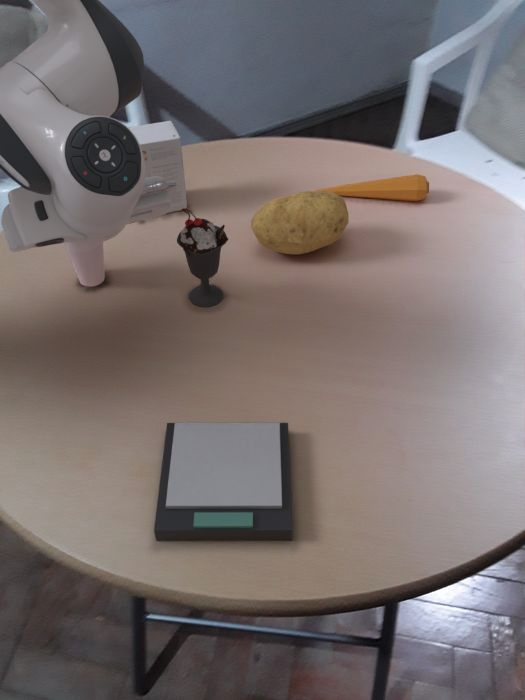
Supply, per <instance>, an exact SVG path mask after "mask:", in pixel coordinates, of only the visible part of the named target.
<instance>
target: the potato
mask: <svg viewBox="0 0 525 700" xmlns="http://www.w3.org/2000/svg"><path fill="white" fill-rule="evenodd" d="M250 222H251V224H250V230H252V232H253V234H254V236H255V238H256V239H257V241H258V243H259V244H260V245H262V246H263V247H264V248H266V249H269V250H272V251H274V252H275V253H276V252H277V253H280V254H285V255H294V256H295V255H297V256H299V255H303V254H307V253H311V252H312V253H313V252H314V251H316V250H319V249H321V248H325V247H326V246H330V245H332V244H334V243H335V242H336V241H338V240H340V239H341V237H342V235H343V233H344V231H345V229H346V227H348V224H349V211H348V207H347V203H346V201H345V199H344V196H340V195H337V194H335V193H333V192H332V191H316V190H309V191H300V192H296V193H294V194H293V193H292V194H289V195H284V196H281V197H277V198H273V199H271V200H269V201H268V202H266V203H264V204H263V205H262V206H260V207H259V208H258V210H257V211H256V213H255V214H254V216H253V217H252V219H251V221H250Z"/></svg>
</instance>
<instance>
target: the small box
mask: <svg viewBox="0 0 525 700" xmlns="http://www.w3.org/2000/svg"><path fill="white" fill-rule="evenodd" d="M127 127H128V128H129V129H130V130H131V131H132V132H133V134H134V135H135V136H136V138H137V140H138V142H139V144H140V146H141V148H142V151H143V155H144V159H145V166H146V177H145V178H147V177H152V176H161V177H162V178H163V179H164V181H166V182H171V181H175V183H176V184H177V189H176V190H175V192H173V193H172V194H170V195H169V197H170V200H171V207H170V210H169V212H168V213H172V212H173V213H175V212H179V211H182V208H184V209H185V208H187V209H188V202H187V190H186V188H187V187H186V178H185V169H184V168H185V167H184V159H183V148H182V138H181V136H180V134H179V133H178V131H177V128H176V127H175V126H174V123H173V122H172V120H167V121H161V122H154V123H147V124H142V125H141V124H140V125H134V126H127Z"/></svg>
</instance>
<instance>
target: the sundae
mask: <svg viewBox="0 0 525 700" xmlns="http://www.w3.org/2000/svg"><path fill="white" fill-rule="evenodd" d="M181 211H182V212H185V213H187V215H188V219H185V221H184V225H185V226H184V227H183V228H182V229H181V231H180V232H179V233H178V235H177V238H176V243H177V244H178V246H179V247H180V248H182V250H183V251H184V255H185V258H186V263H187V267H188V269H189V272H190V273H191V275H192V276H194V277H195V278H196V279H199V280H200V284H198V285H197V286H195V287H193V288H192V289H191V290H190V291H189V293H188V299H189V301H190V303H192V304H193V305H195V306H198V307H202V308H209V307H213V306H216V305H217V304H219V303H220V302H221V301H223V298H224V292H223V290H222V289H221V288H220V287H218V286H216V285H214V284H211V283H210V279H211V278H213V277H214V276H215V275H216V274H217V273H218V272H219V267H220V260H221V251H222V247H223V246H224V245H226V244H227V242H228V241H229V238H228V236H227V233H226V232H225V230H224V229H225V227H226V226H225V224H222V225H221V227H220V226H218V225H214V222H212V221H210V220H209V219H206V218H200V217H196V216H195V215H194V213H193V212H192V211H190V210H188V207H187V208H185V209H184V208H182V210H181ZM190 214H191V215H192V216H193V218H194V220H193V219H191V215H190Z"/></svg>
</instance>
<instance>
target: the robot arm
mask: <svg viewBox="0 0 525 700" xmlns="http://www.w3.org/2000/svg"><path fill="white" fill-rule="evenodd" d="M31 1H32V2H33V3H34V5H35V6H36V7H37V8H38V9H39V10H40V11H41V12H42V13H43V14H44V15H45V16H46V17H45V18H46V19H47V22H48V27H47V30H46V31H45V32H44V33H43V34H42V35H41V36H40V37H38V38H37V39H36V40H34V42H33V43H31V44H30V45H29V46H27V47H26V48H25V49H24V50H22V52H20V53H19V54H18V55H16V56H15V57H14V58H13V59H12V60H11V61H8V62H6V63H5V64H4V65H3V66H1V67H0V170H1V171H2V172H4V174H6V175H7V176H8V177H9V178H10V179H11V180H12V181H14V183H16V184H17V185H19V187H16V188H13V189H11V190H9V191H8V192H7V200H8V204H7V205H5V206H4V208H3V210H2V213H1V221H0V222H1V227H2V231H3V234H4V237H5V240H6V243H7V246H8V248H9V250H10V252H11V253H18V252H19V253H20V252H23V251H26V250H30V249H35V248H42V247H47V246H52V245H60V244H64V243H67V242H85V241H86V242H103V243H104V242H106V241H110V240H111V239H113V238H115V237H117V236H118V235H119V234H120V233H121V232H122V231H123V230H124V229H125V227H126V226H127V225H129V224H134V223H138V222H141V221H145V220H151V219H153V218H158V217H160V216H165V215H166V214H167V213H168V214H169V213H170V212H169V210H170V207H171V200H170V197H169V195H170V194H172V193H173V192H175V190H176V189H177V184H176V183H175V181H171V182H166V181H164V179H163V178H162V177H161V176H152V177H147V178H145V177H146V166H145V159H144V155H143V151H142V148H141V146H140V144H139V142H138V140H137V138H136V136H135V135H134V134H133V132H132V131H131V130H130V129H129V128H128V127H129V126H127V125H125V124H124V123H123V122H122V121H120V120H118V119H116V118H113V117H111V116H113V115H115V114H117V113H118V112H119V111H121V110H122V109H124V108H125V107H127V106H128V105H129V104H130V103H132V102H133V101H135V100H136V99H137V98H139V97H140V95H141V93H142V88H143V83H144V74H145V62H144V61H145V60H144V53H143V51H142V48H141V45H140V44H139V42H138V41H137V39H136V38H135V36H134V35H133V33H132V32H131V31H130V29H128V28H127V26H125V24H124V23H123V22H121V21H122V20H120V19H119V18H118V17H117V16H116V15H115V14H114V13H113V12H111V10H110V9H108V7H106V5H104V3H102V2H101V1H100V0H31Z"/></svg>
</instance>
